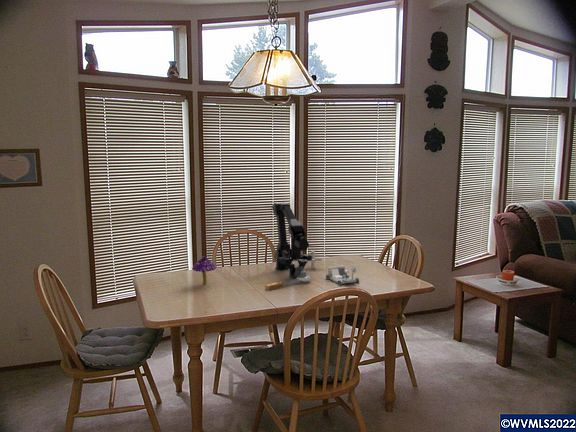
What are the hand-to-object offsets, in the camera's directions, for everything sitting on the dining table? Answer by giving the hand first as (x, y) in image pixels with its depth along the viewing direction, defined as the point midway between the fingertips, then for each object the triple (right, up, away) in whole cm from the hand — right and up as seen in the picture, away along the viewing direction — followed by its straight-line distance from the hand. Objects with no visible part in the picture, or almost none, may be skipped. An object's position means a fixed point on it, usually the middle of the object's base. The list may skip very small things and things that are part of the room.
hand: (296, 274), depth 252 cm
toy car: (+25, -3, -10) cm, 27 cm away
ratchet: (-4, -3, -16) cm, 17 cm away
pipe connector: (+10, +1, +21) cm, 23 cm away
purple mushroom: (-48, -4, -15) cm, 50 cm away
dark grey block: (0, -1, 0) cm, 1 cm away
